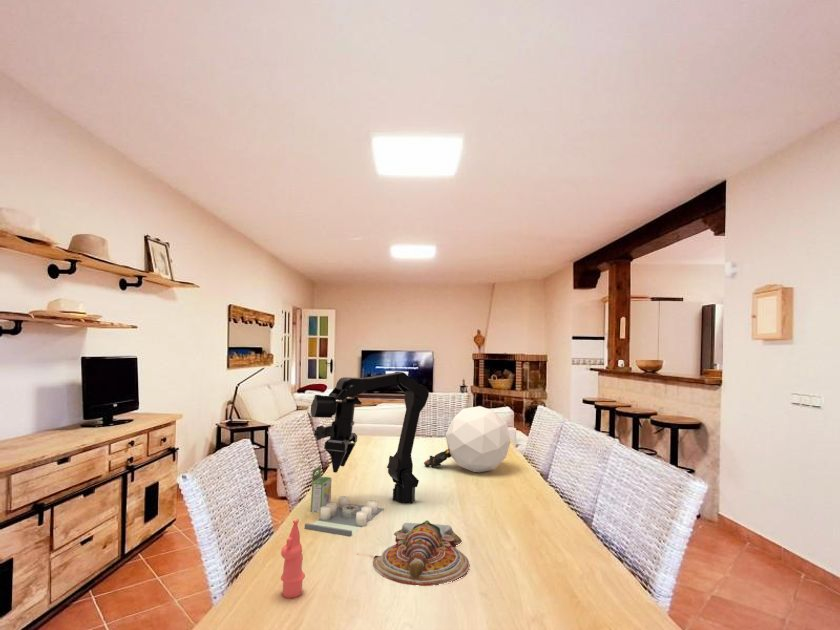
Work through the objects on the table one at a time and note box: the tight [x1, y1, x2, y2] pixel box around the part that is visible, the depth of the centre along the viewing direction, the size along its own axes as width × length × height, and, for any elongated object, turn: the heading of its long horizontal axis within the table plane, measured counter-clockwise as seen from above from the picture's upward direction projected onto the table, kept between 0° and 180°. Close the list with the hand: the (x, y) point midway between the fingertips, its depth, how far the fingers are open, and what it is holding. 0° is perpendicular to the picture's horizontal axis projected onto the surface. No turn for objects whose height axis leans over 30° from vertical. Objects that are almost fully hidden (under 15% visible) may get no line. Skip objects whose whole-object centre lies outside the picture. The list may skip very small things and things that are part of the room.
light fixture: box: [423, 405, 511, 473], centre depth 208 cm, size 27×40×28 cm
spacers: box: [319, 495, 378, 528], centre depth 145 cm, size 14×14×3 cm
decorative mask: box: [372, 520, 471, 587], centre depth 121 cm, size 24×8×30 cm
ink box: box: [310, 465, 333, 514], centre depth 150 cm, size 7×4×13 cm, turn 168°
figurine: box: [280, 518, 306, 599], centre depth 102 cm, size 5×5×15 cm
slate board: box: [304, 503, 385, 537], centre depth 143 cm, size 14×24×2 cm, turn 162°
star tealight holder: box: [342, 505, 358, 519], centre depth 145 cm, size 5×5×2 cm
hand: (338, 469), depth 150 cm, fingers open, 9 cm apart
